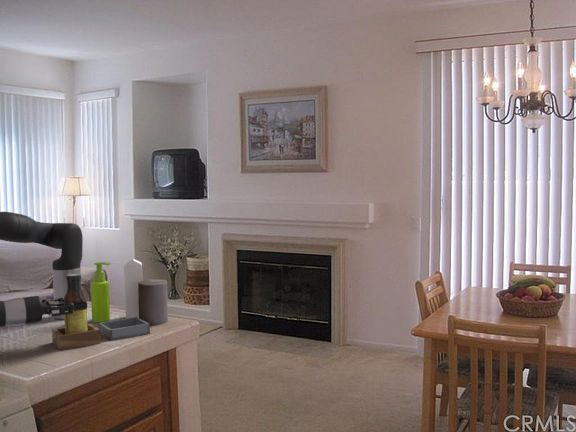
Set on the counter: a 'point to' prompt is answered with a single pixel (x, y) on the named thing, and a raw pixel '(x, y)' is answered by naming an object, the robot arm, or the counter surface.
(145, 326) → the tray
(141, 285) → the pillar candle
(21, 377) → the counter surface
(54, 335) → the collar
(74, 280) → the sauce bottle
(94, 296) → the soap dispenser
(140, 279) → the milk
